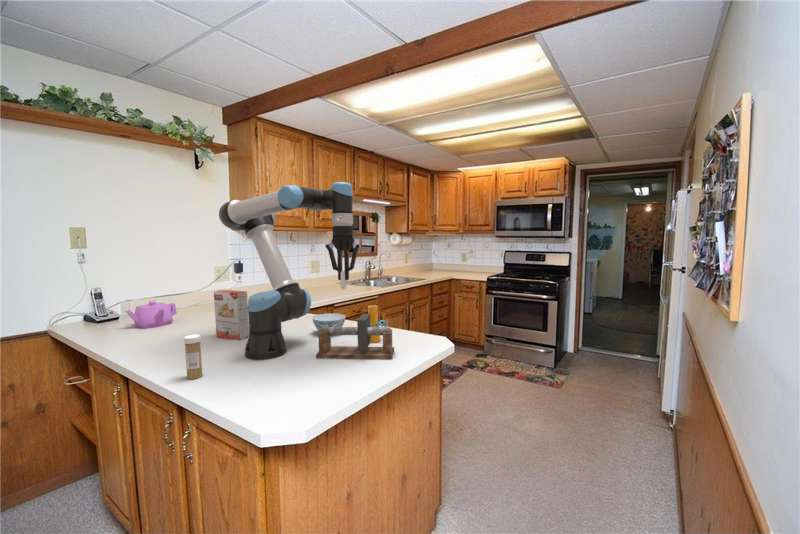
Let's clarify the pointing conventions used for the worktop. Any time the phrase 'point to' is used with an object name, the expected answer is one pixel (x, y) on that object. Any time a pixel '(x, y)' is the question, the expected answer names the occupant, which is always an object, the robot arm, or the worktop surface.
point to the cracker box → (231, 314)
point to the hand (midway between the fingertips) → (343, 288)
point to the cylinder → (375, 321)
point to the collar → (363, 331)
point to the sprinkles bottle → (193, 356)
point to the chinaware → (328, 320)
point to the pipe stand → (353, 351)
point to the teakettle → (153, 314)
